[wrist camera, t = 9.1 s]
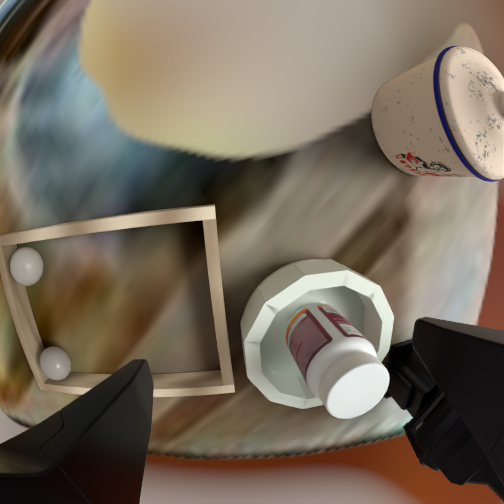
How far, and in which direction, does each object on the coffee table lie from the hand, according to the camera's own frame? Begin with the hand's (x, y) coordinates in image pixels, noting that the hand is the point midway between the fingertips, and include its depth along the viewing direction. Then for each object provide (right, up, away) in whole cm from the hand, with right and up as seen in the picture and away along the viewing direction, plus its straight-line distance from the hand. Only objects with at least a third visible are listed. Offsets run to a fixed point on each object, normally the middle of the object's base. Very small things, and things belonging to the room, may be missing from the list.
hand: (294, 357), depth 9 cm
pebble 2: (-18, -6, +11) cm, 22 cm away
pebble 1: (-19, +2, +9) cm, 21 cm away
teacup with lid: (+14, +14, +12) cm, 23 cm away
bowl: (+3, -3, +14) cm, 15 cm away
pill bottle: (+3, -3, +14) cm, 15 cm away
